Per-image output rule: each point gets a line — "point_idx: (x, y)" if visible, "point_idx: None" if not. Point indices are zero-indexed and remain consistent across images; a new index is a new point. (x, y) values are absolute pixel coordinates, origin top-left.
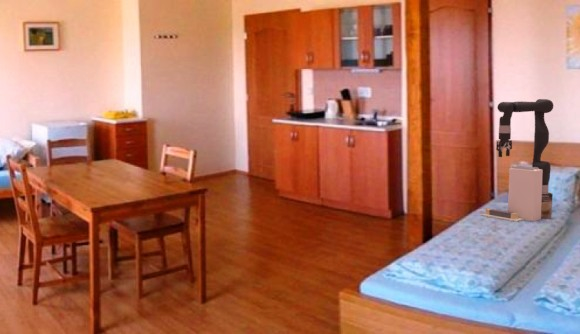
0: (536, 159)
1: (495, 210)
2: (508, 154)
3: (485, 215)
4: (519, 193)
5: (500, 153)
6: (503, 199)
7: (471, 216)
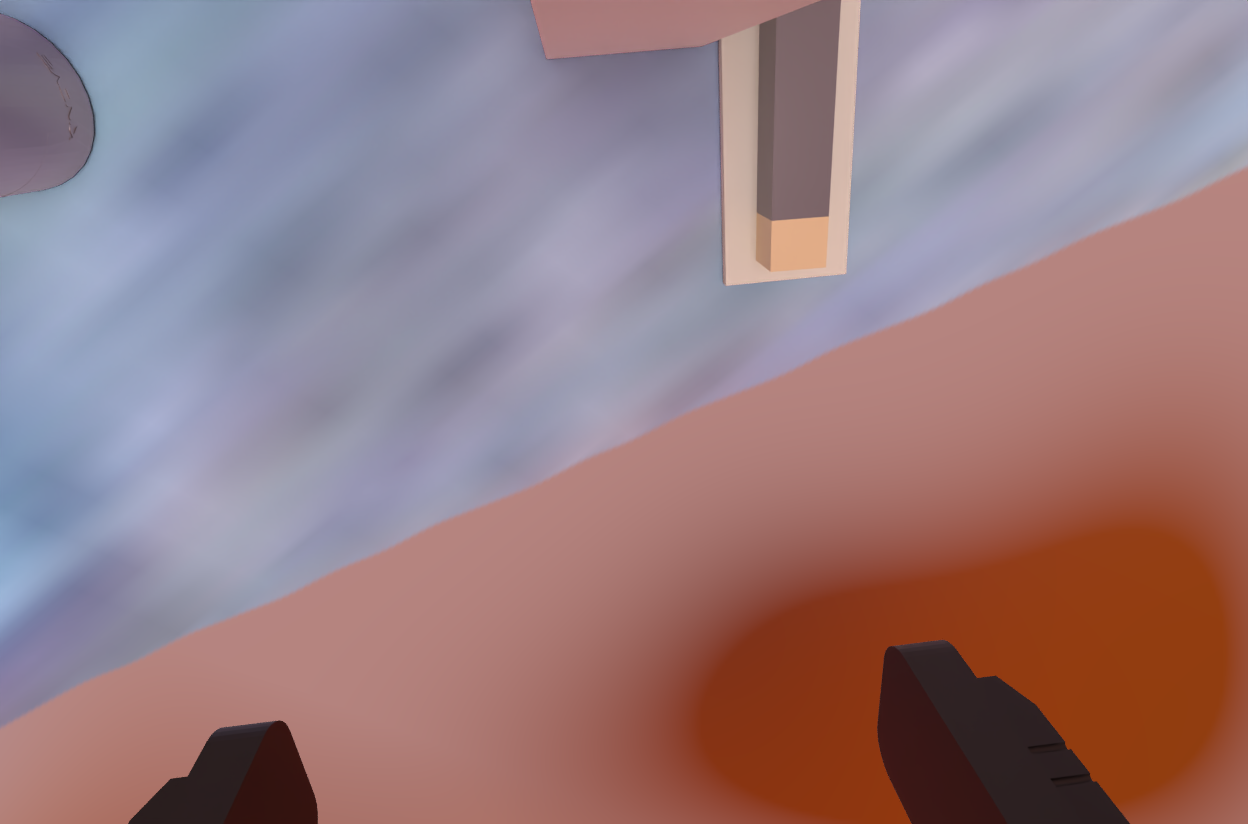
0: None
1: (818, 144)
2: (252, 802)
3: (847, 222)
4: None
5: (1109, 813)
6: (40, 659)
7: (937, 299)
